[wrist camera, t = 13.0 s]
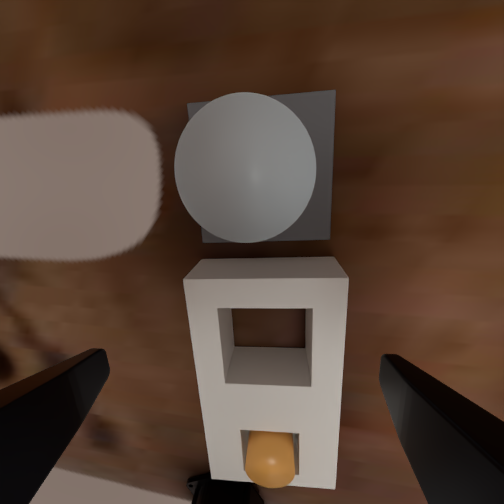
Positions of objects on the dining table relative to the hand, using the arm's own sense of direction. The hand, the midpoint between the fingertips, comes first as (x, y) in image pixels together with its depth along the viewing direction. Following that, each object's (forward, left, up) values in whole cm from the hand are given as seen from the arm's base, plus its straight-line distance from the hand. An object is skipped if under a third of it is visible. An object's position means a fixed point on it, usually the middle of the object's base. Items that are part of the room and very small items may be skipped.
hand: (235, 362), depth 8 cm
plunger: (-6, -14, -10) cm, 18 cm away
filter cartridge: (+3, +5, -10) cm, 12 cm away
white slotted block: (-3, -9, -11) cm, 14 cm away
